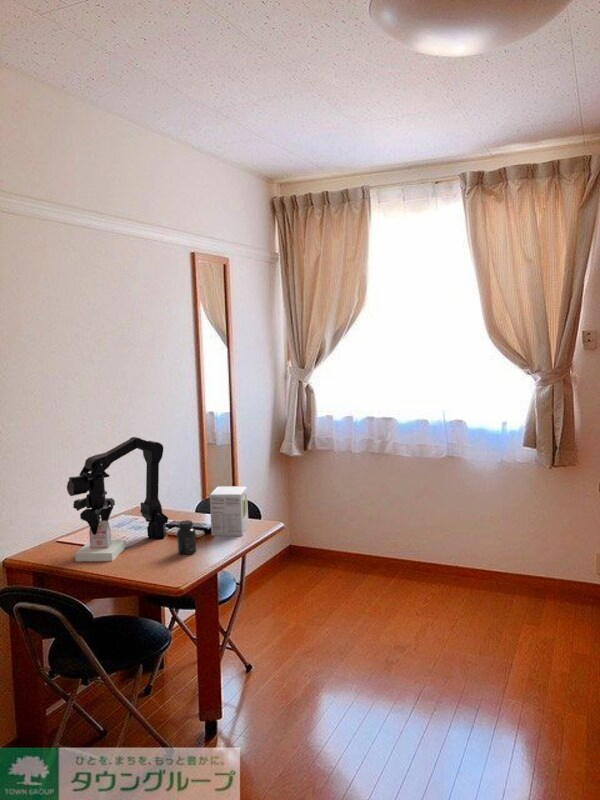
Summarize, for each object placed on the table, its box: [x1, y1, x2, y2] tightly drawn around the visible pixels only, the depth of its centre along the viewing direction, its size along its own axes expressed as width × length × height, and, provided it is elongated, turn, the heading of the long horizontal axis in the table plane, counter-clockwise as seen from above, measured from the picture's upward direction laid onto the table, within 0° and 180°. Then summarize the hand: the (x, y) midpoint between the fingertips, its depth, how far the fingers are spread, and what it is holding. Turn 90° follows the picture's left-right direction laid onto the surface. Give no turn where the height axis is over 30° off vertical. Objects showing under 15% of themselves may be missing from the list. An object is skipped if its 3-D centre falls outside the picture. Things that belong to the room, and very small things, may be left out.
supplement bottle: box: [176, 519, 197, 556], centre depth 227 cm, size 7×7×12 cm
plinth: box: [74, 539, 127, 562], centre depth 229 cm, size 14×14×3 cm
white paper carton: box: [88, 520, 112, 548], centre depth 228 cm, size 4×7×10 cm, turn 86°
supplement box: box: [209, 485, 249, 537], centre depth 251 cm, size 13×13×18 cm
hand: (99, 530), depth 228 cm, fingers open, 9 cm apart
